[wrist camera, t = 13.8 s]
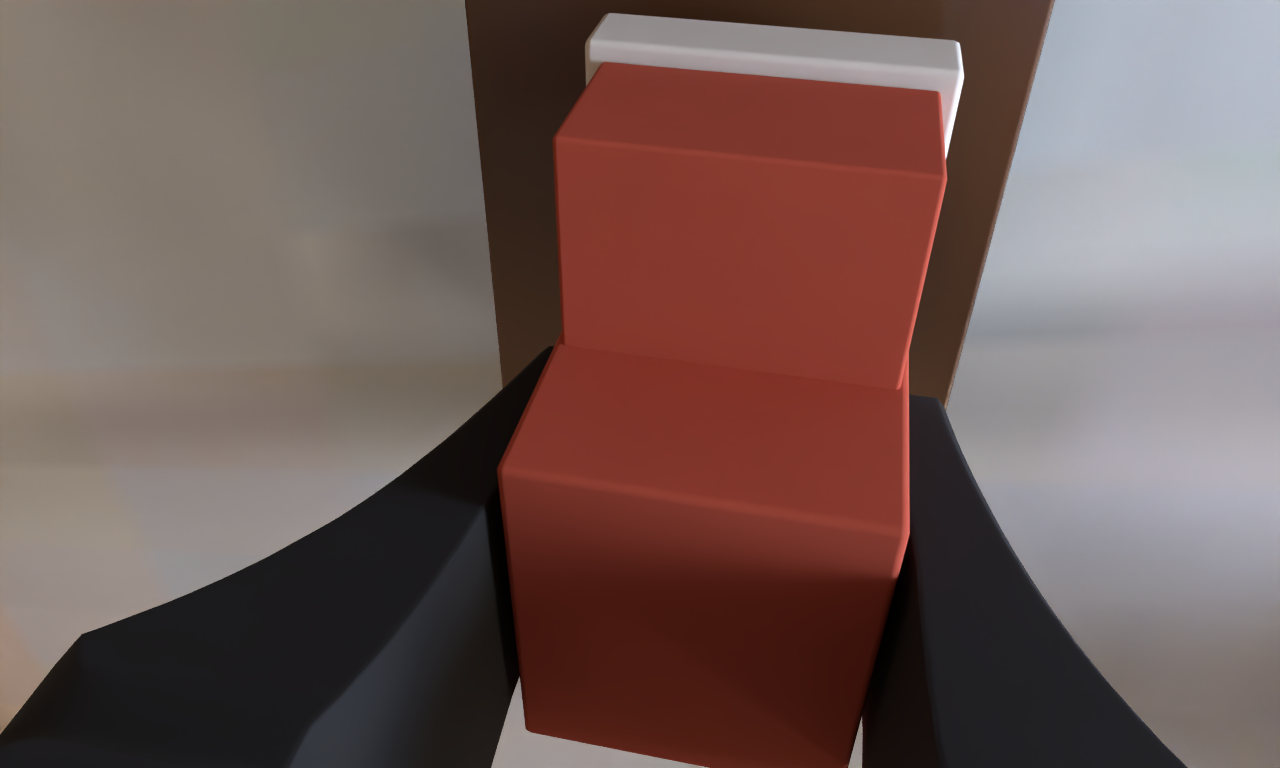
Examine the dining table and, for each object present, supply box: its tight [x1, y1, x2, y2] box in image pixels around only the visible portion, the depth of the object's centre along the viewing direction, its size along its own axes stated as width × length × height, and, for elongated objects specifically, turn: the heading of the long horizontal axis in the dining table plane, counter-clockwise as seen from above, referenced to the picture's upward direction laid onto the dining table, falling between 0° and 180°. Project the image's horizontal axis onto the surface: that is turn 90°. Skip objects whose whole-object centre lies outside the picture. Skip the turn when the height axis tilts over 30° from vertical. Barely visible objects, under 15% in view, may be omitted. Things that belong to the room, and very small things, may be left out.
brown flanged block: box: [465, 0, 1055, 411], centre depth 16 cm, size 14×7×5 cm, turn 179°
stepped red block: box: [497, 13, 964, 768], centre depth 11 cm, size 7×4×5 cm, turn 179°
